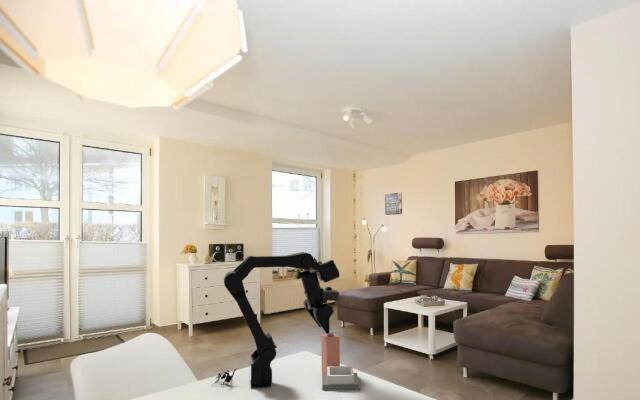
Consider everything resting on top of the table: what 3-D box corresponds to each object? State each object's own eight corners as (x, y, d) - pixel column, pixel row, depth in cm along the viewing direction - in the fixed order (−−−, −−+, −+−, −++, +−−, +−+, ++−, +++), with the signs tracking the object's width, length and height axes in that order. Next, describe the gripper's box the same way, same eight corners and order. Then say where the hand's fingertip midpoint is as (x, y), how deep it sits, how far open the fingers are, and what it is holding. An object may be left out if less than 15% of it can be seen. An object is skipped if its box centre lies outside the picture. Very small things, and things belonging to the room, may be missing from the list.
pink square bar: (326, 376, 133) (326, 335, 134) (321, 371, 138) (321, 331, 139) (340, 374, 135) (339, 333, 136) (334, 369, 139) (334, 330, 140)
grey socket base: (322, 389, 122) (322, 376, 122) (322, 377, 132) (322, 365, 132) (359, 389, 122) (359, 376, 122) (356, 377, 132) (356, 365, 132)
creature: (207, 387, 128) (222, 388, 123) (205, 371, 129) (220, 370, 124) (226, 380, 134) (241, 380, 129) (224, 364, 135) (238, 363, 130)
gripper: (341, 283, 127) (354, 328, 127) (325, 276, 145) (337, 316, 145) (310, 294, 124) (323, 340, 124) (298, 286, 142) (309, 326, 142)
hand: (324, 329), depth 134 cm, fingers open, 9 cm apart
